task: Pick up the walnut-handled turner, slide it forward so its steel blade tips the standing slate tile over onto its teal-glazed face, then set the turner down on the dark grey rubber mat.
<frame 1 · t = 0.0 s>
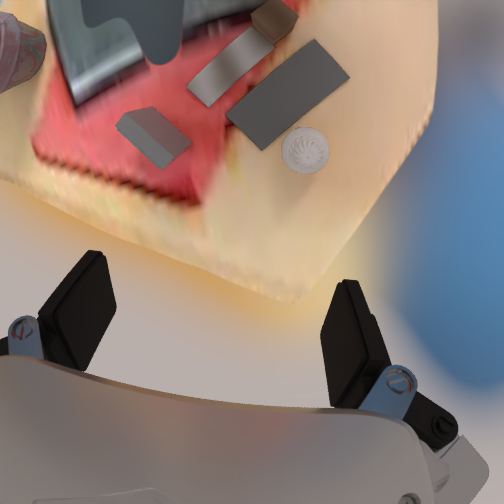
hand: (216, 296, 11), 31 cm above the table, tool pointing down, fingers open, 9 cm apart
tile: (167, 129, 37), on the table
potted plant: (27, 60, 29), on the table
turner: (273, 29, 29), on the table
muffin: (302, 145, 38), on the table
mat: (287, 93, 34), on the table
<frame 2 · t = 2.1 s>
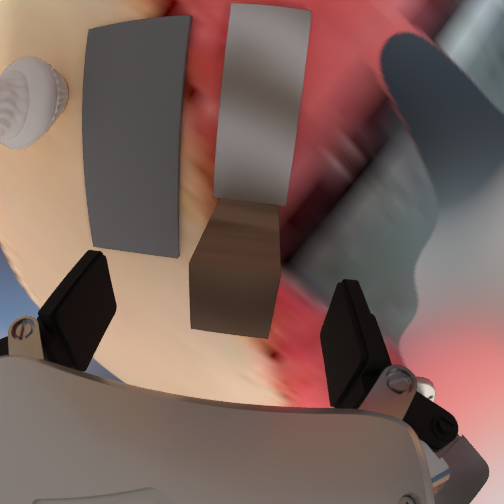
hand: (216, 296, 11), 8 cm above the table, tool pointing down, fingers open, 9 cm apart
turner: (247, 223, 19), on the table
muffin: (54, 97, 15), on the table
mat: (129, 139, 16), on the table
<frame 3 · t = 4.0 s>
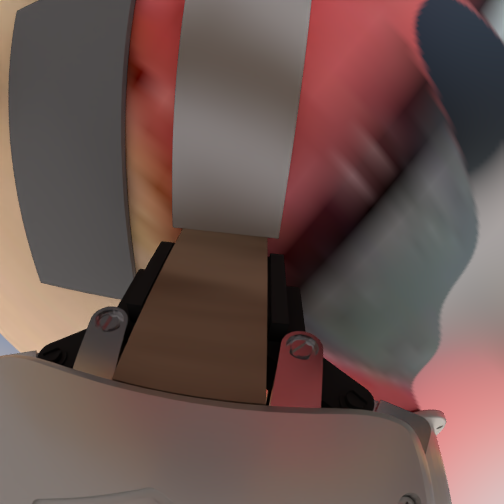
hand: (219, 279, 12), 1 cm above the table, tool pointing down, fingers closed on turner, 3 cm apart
turner: (224, 260, 13), on the table, touching gripper
mat: (62, 149, 11), on the table
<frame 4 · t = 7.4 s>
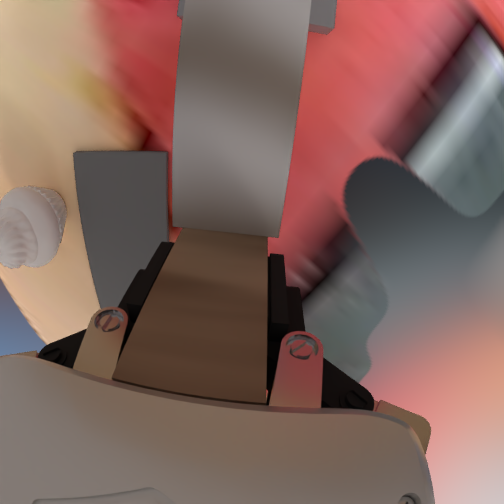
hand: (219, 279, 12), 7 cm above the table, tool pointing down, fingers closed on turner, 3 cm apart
tile: (255, 20, 12), point 1 cm above the table, tilted 90°
turner: (224, 259, 13), point 6 cm above the table, touching gripper
muffin: (53, 206, 19), on the table
mat: (126, 255, 21), on the table
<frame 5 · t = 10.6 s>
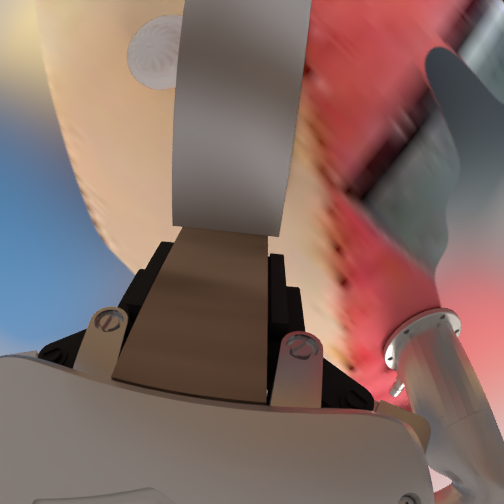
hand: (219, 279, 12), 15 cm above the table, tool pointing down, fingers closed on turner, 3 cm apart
turner: (224, 259, 13), point 14 cm above the table, touching gripper
muffin: (179, 56, 20), on the table
when the fingers open (3 cm above the table, at t = 13.3 s): turner drops 1 cm, resting on mat.
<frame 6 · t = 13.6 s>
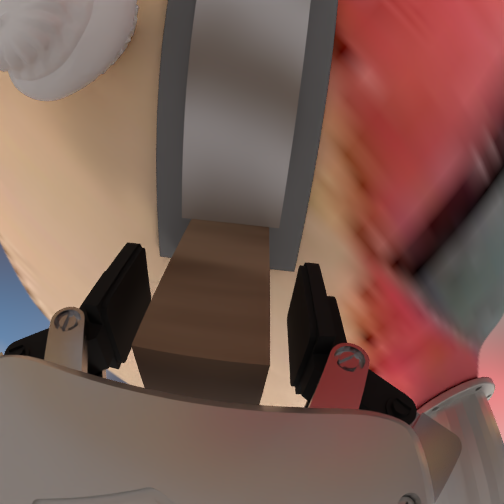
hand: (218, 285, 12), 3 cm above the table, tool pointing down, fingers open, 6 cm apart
turner: (228, 249, 14), resting on mat
muffin: (107, 34, 9), on the table
mat: (240, 99, 11), on the table
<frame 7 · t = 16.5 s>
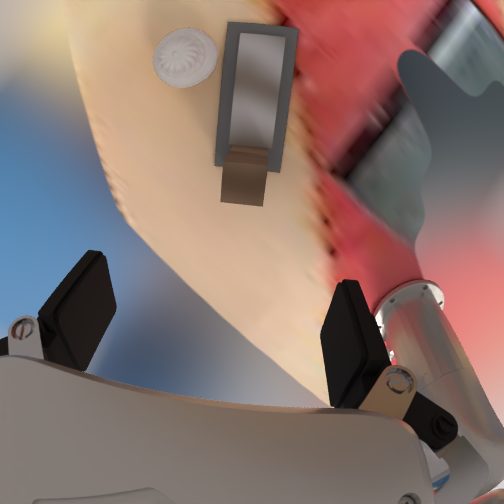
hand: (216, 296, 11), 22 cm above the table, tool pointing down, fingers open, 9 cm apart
turner: (248, 161, 30), resting on mat
muffin: (193, 60, 25), on the table
mat: (255, 95, 27), on the table
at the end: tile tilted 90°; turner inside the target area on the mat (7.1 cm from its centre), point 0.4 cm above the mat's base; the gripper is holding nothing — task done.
